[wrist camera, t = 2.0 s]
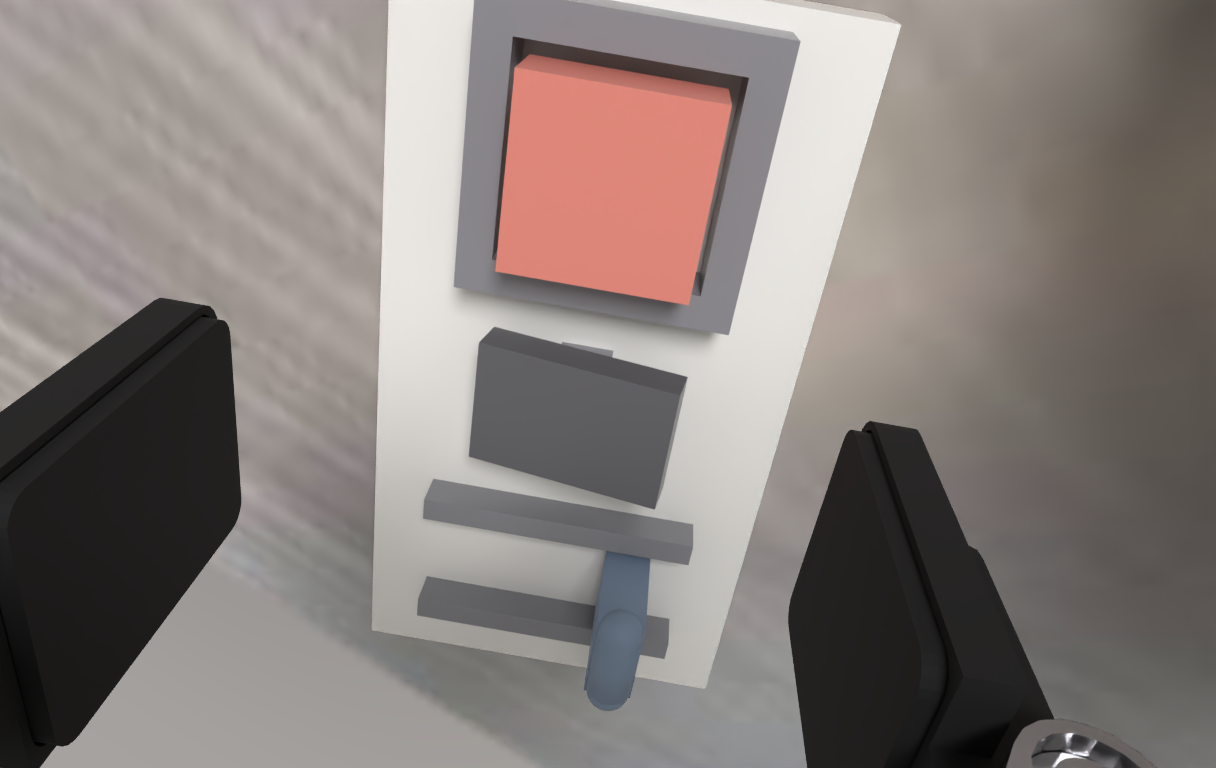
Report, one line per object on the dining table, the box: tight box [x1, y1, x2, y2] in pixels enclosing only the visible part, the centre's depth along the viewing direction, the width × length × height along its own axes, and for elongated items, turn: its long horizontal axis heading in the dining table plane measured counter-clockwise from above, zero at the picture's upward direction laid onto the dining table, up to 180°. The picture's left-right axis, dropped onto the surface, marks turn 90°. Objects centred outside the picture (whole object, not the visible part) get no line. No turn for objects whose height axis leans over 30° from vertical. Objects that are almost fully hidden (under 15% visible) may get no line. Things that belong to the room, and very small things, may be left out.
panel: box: [371, 0, 901, 689], centre depth 28 cm, size 24×13×4 cm, turn 171°
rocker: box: [469, 327, 688, 510], centre depth 26 cm, size 4×6×1 cm, turn 81°
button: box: [495, 54, 732, 305], centre depth 22 cm, size 5×5×2 cm
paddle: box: [584, 551, 650, 711], centre depth 29 cm, size 4×2×5 cm, turn 171°
